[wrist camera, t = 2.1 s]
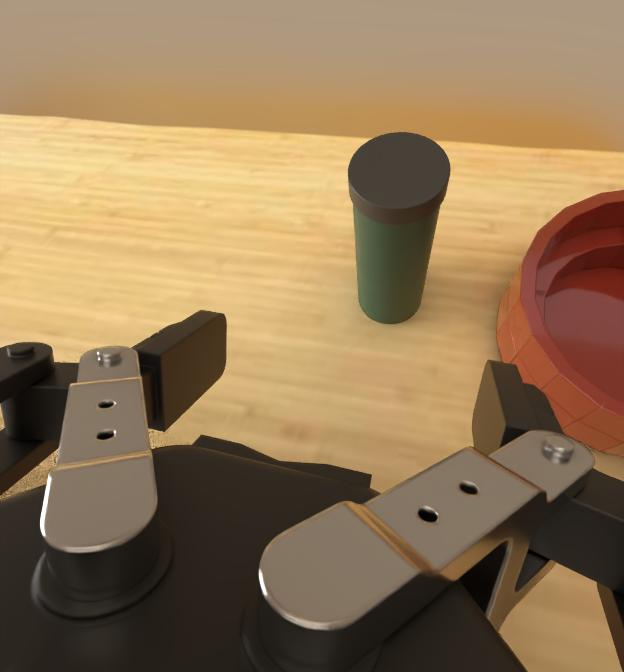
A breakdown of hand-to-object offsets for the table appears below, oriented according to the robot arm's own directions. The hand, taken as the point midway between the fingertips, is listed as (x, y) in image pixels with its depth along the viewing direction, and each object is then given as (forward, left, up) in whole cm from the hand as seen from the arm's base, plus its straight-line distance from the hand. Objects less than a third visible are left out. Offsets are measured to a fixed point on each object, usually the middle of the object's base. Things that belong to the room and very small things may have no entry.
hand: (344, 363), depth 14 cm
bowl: (-15, -10, -16) cm, 24 cm away
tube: (0, -11, -16) cm, 19 cm away
